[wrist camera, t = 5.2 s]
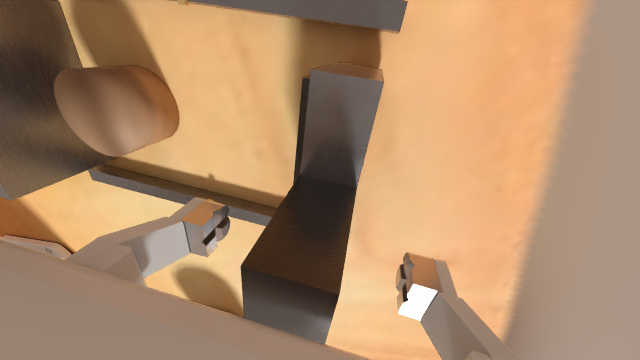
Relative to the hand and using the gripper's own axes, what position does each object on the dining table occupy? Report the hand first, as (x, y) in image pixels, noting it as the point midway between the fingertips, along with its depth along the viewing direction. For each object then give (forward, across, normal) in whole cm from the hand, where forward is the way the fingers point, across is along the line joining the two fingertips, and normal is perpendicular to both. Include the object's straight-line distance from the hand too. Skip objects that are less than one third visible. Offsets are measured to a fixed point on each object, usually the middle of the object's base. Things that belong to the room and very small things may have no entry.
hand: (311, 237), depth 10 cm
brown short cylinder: (+12, -20, 0) cm, 23 cm away
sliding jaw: (+12, 0, 0) cm, 12 cm away
